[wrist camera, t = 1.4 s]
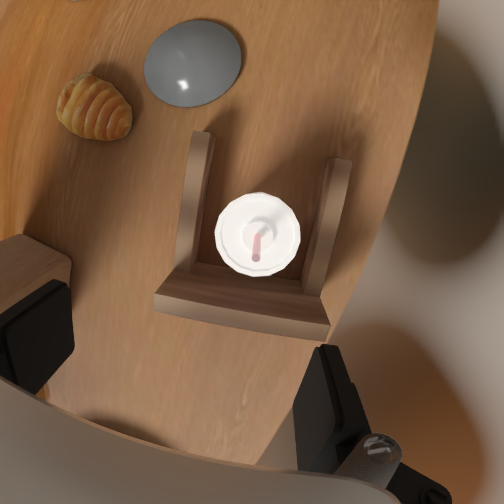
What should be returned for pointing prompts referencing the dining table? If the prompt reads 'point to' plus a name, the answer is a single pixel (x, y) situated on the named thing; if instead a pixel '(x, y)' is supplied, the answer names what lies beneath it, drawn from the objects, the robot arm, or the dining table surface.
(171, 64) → the coaster
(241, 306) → the rack
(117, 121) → the pastry
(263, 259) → the beverage cup
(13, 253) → the block
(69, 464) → the robot arm
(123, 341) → the dining table surface
